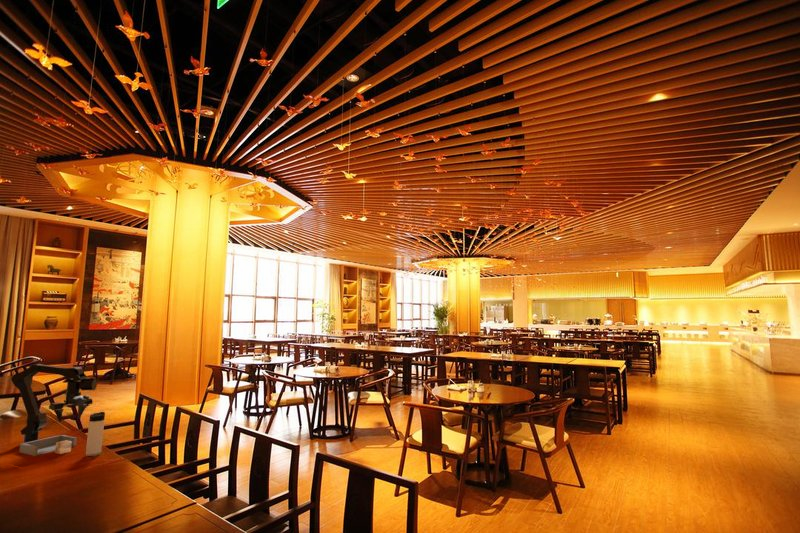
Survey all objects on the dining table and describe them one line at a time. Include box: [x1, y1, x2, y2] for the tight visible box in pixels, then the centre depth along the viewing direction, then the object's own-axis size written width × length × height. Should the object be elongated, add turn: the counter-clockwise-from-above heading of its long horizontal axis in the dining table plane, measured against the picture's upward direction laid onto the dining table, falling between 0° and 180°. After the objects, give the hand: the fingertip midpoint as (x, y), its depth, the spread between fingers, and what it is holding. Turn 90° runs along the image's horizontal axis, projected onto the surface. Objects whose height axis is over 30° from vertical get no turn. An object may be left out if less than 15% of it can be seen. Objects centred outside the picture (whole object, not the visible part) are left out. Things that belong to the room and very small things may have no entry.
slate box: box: [19, 434, 77, 457], centre depth 212 cm, size 13×18×4 cm
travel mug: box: [85, 411, 106, 457], centre depth 207 cm, size 6×7×20 cm
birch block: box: [54, 440, 72, 455], centre depth 208 cm, size 4×4×5 cm
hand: (69, 420), depth 225 cm, fingers open, 9 cm apart
